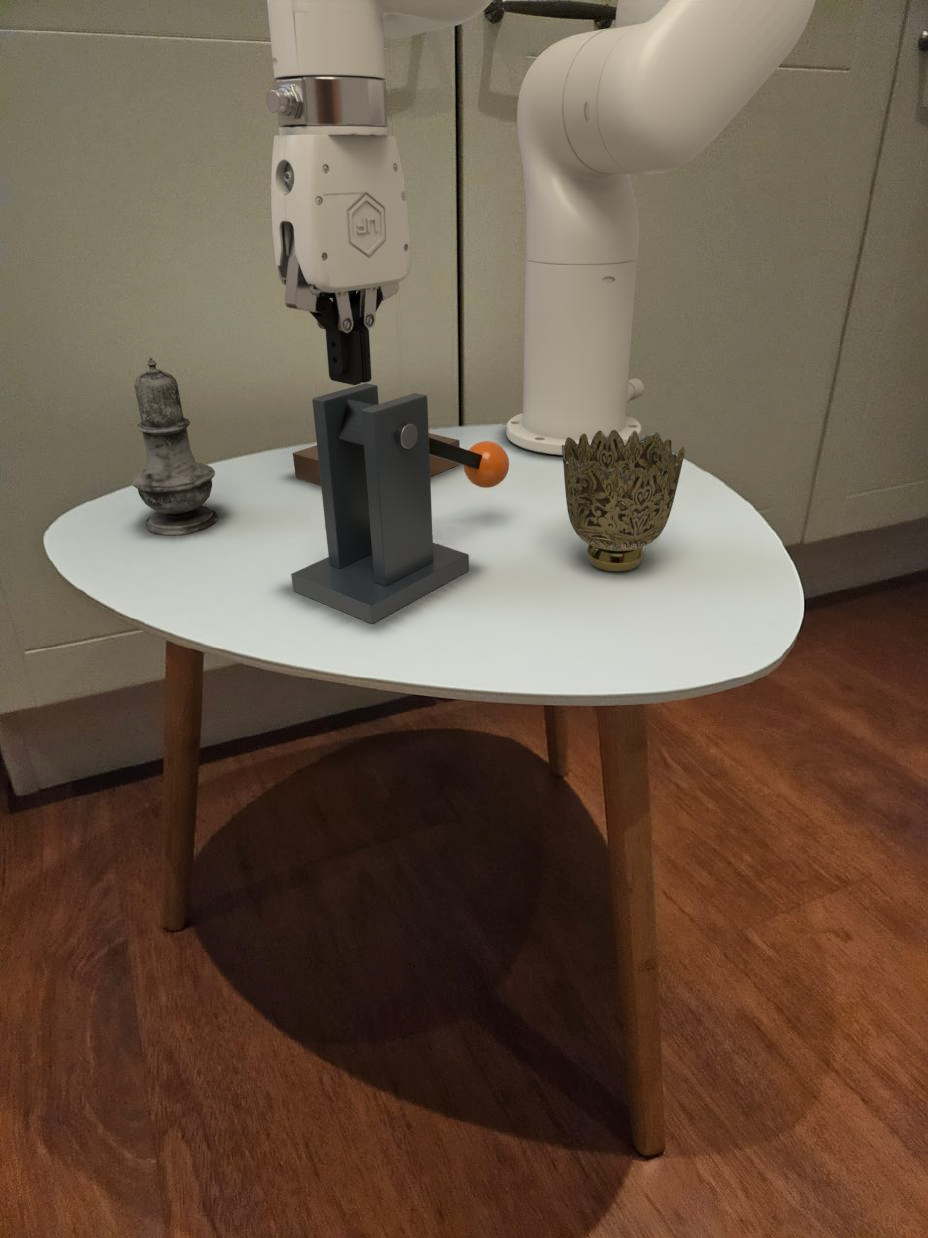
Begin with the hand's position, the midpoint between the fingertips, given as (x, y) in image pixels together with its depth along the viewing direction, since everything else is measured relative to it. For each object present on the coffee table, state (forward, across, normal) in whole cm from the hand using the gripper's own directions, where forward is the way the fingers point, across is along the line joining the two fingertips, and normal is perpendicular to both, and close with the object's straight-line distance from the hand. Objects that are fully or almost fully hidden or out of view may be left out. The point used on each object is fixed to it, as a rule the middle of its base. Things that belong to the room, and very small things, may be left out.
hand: (350, 380), depth 68 cm
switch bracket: (+8, -12, -15) cm, 21 cm away
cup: (+8, -1, -26) cm, 27 cm away
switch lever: (+2, -8, -15) cm, 17 cm away
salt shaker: (+9, -14, +4) cm, 17 cm away
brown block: (+8, +2, 0) cm, 8 cm away
